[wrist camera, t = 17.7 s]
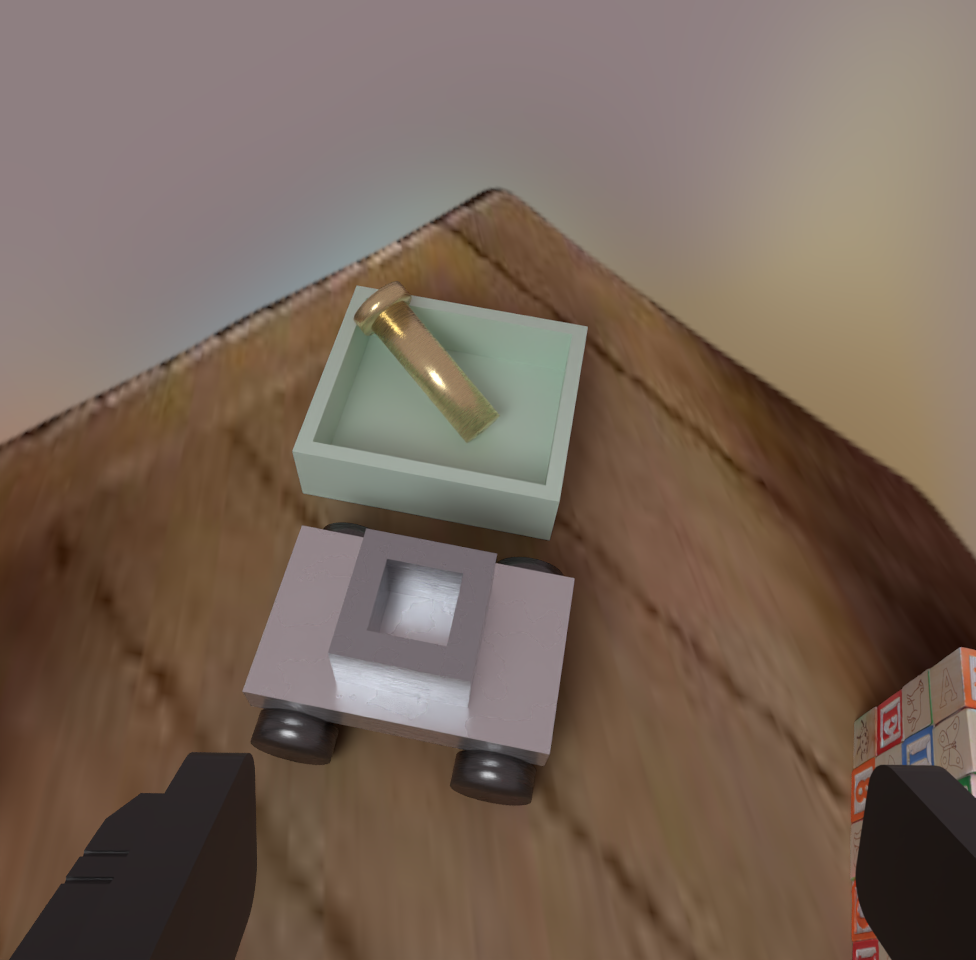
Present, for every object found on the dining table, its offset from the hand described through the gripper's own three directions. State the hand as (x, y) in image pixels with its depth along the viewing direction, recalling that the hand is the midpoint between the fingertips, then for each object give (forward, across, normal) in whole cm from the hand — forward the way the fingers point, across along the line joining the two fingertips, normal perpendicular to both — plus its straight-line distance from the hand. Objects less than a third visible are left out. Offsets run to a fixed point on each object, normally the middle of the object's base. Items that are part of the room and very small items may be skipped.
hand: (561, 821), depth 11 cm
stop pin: (+46, 0, +2) cm, 46 cm away
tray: (+49, +2, +2) cm, 49 cm away
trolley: (+37, +3, +15) cm, 40 cm away
